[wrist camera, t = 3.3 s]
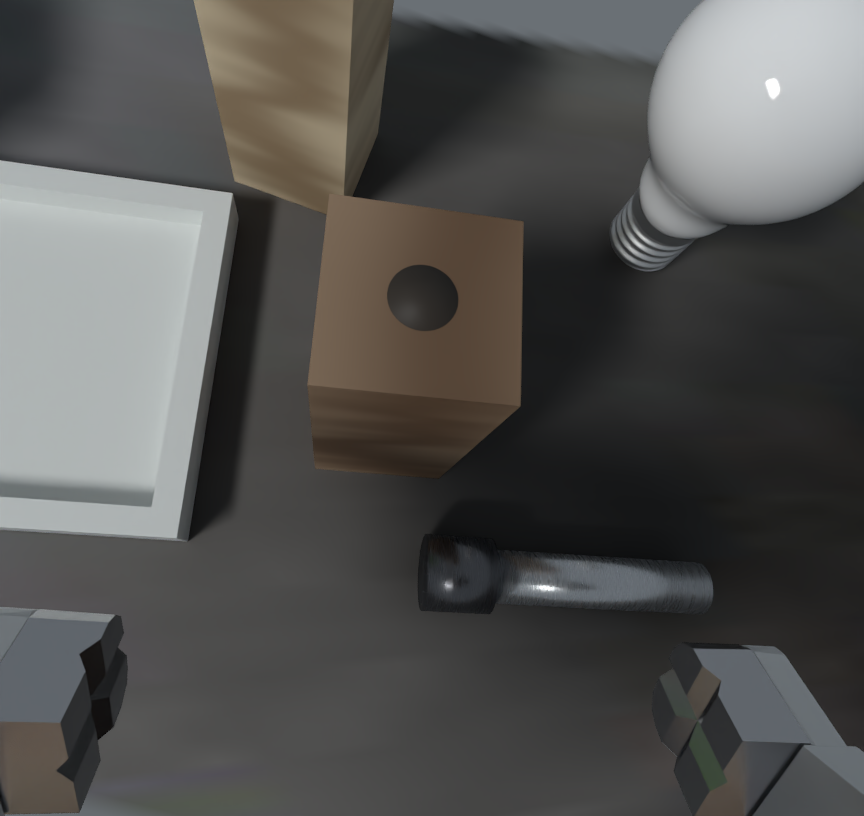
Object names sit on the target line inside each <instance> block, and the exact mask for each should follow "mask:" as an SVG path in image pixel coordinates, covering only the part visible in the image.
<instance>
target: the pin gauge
mask: <svg viewBox="0 0 864 816" xmlns="http://www.w3.org/2000/svg"><path fill="white" fill-rule="evenodd" d="M712 599H713V584H712V579H711V576H710V574H709V572H708V570H707V569H706V567H705V566H704V565H703V564H701V563H696V562H680V561H665V560H649V559H634V558H619V557H603V556H588V555H573V554H557V553H542V552H526V551H511V550H497V548H496V545H495V542H494V540H493V539H491V538H476V537H462V536H447V535H432V534H425V535H424V537H423V541H422V545H421V550H420V557H419V568H418V602H419V607H420V610H421V611H435V612H456V613H476V614H490V613H491V612H492V611H493V608H494V606H495V604H512V605H531V606H551V607H570V608H589V609H608V610H627V611H646V612H666V613H685V614H704V613H706V612H707V611H708V610H709V608H710V606H711V603H712Z"/></svg>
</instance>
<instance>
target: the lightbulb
mask: <svg viewBox="0 0 864 816" xmlns="http://www.w3.org/2000/svg"><path fill="white" fill-rule="evenodd" d="M647 133H648V143H649V150H650V156H649V158H648V160H647V162H646V164H645V167H644V169H643V172H642V175H641V179H640V186H639V188H638V189H637V190H636V192H635V193H634V194H633V195H632V197H631V198H630V200H629V201H628V202H627V203H626V204H625V206H624V207H623V208H622V209H621V210H620V212H619V213H618V214H617V215H616V216H615V218H614V219H613V221H612V223H611V226H610V230H609V238H610V243H611V246H612V248H613V250H614V252H615V253H616V255H617V256H618V257H619V258H620V259H621V260H622V261H623V262H624V263H625V264H627V265H628V266H630V267H632V268H634V269H636V270H640V271H645V272H653V271H658V270H660V269H662V268H664V267H666V266H667V265H668V264H669V263H670V262H672V261H673V260H674V259H675V258H676V257H677V256H678V255H679V254H680V253H681V252H682V251H684V250H685V249H686V248H687V247H688V246H689V245H690V244H691V243H692V242H693V241H695V240H696V239H697V238H700V237H704V236H707V235H710V234H713V233H715V232H717V231H719V230H721V229H723V228H724V227H726V226H728V225H730V224H731V225H765V224H774V223H780V222H785V221H790V220H794V219H797V218H801V217H804V216H807V215H809V214H812V213H814V212H817V211H819V210H821V209H823V208H825V207H827V206H829V205H831V204H833V203H835V202H837V201H838V200H840V199H842V198H843V197H845V196H846V195H848V194H849V193H851V192H852V191H853V190H855V189H856V188H857V187H859V186H860V185H861V184H862V183H863V182H864V0H703V1H702V2H700V3H699V4H698V5H697V7H695V9H693V11H692V12H691V13H690V14H689V15H688V16H687V17H686V19H685V20H684V21H683V22H682V24H681V25H680V26H679V28H678V29H677V31H676V32H675V34H674V35H673V37H672V38H671V40H670V42H669V43H668V45H667V47H666V49H665V51H664V53H663V55H662V57H661V59H660V61H659V64H658V66H657V69H656V72H655V74H654V78H653V81H652V85H651V89H650V94H649V100H648V109H647Z"/></svg>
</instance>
